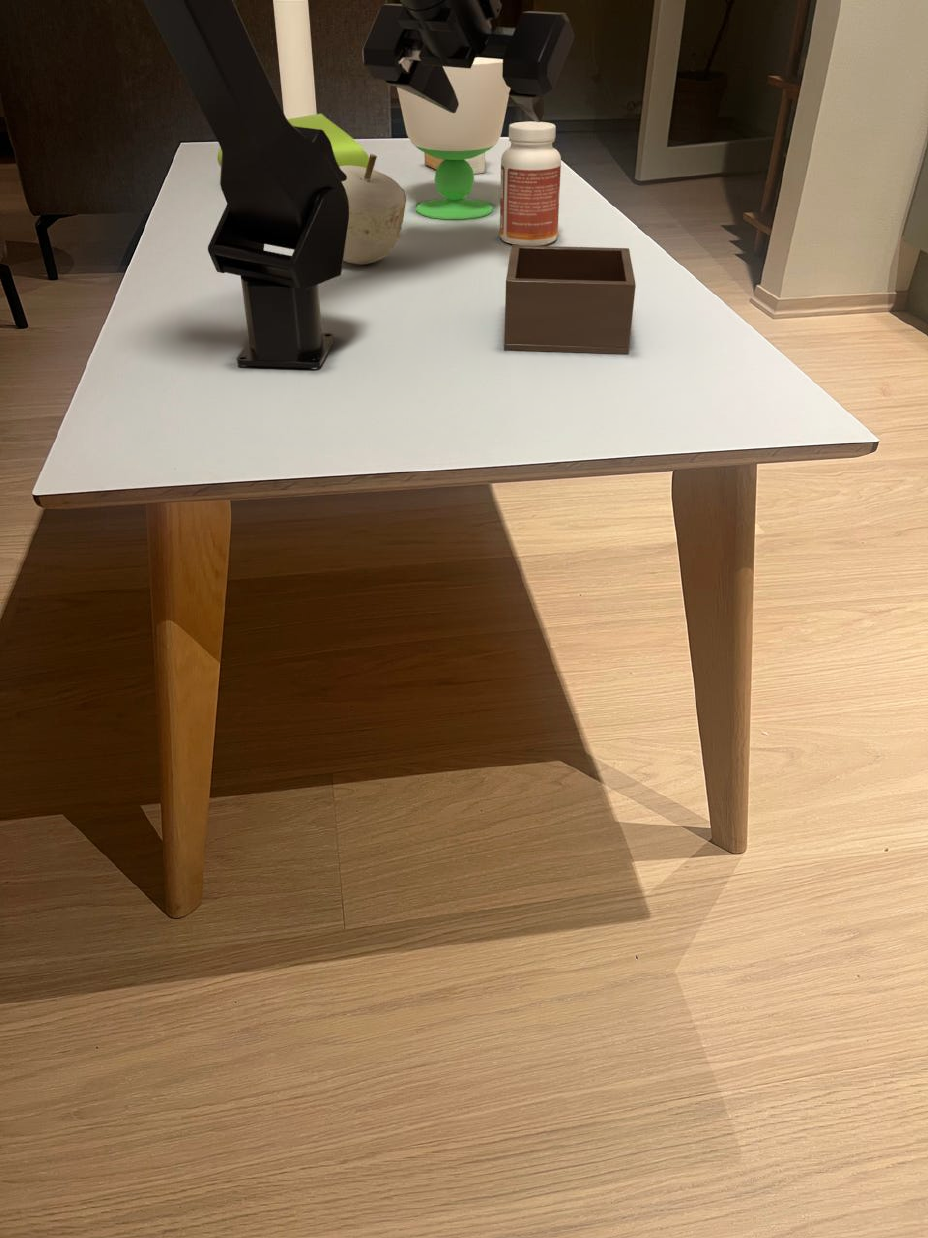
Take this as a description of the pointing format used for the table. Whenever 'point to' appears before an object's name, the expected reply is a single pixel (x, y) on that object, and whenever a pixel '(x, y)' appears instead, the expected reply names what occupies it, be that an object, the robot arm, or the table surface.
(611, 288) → the brown rectangular open box
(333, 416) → the table surface
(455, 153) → the cup
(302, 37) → the candle
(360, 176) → the decorative object
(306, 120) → the green curved piece
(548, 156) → the pill bottle
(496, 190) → the table surface
